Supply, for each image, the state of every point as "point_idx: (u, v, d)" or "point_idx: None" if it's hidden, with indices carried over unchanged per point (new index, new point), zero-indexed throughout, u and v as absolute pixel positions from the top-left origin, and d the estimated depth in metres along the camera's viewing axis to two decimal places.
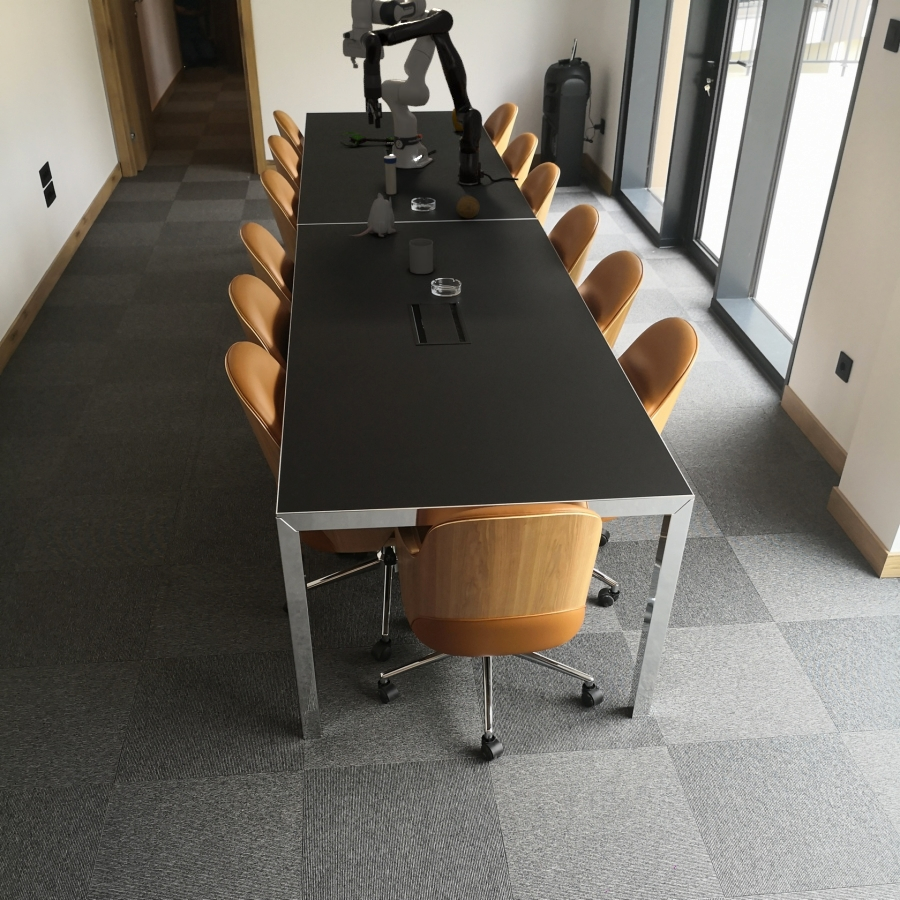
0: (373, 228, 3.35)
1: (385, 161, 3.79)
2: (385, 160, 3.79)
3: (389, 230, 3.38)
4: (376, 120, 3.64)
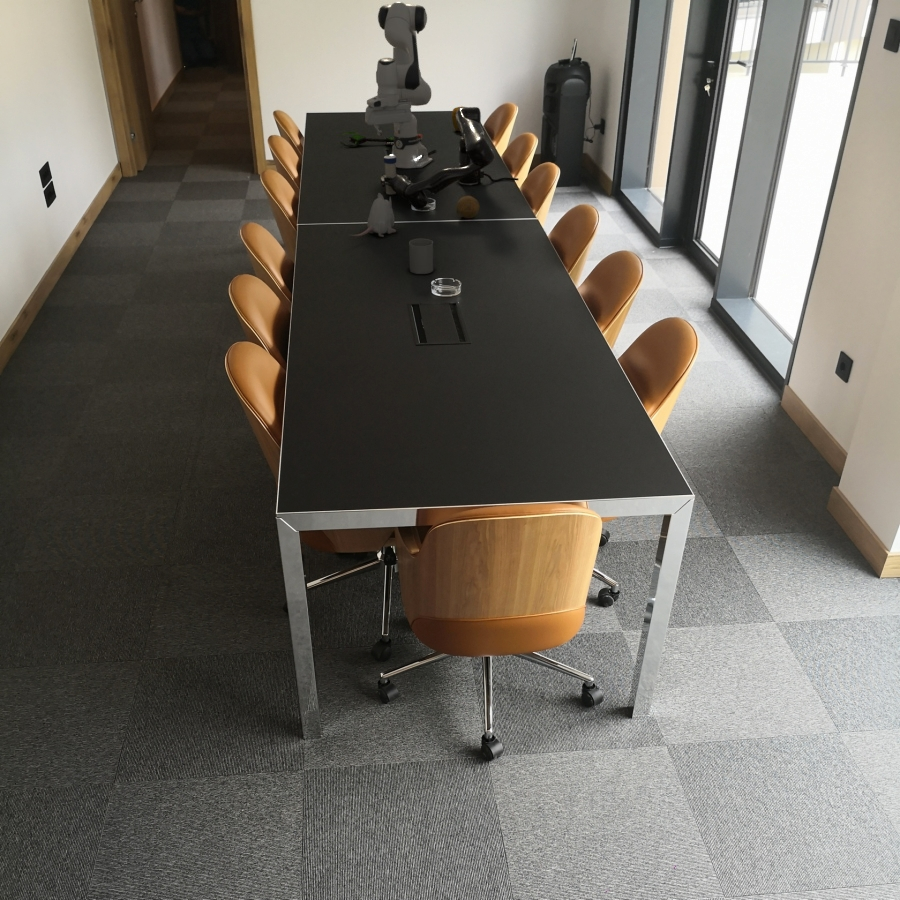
0: (373, 228, 3.35)
1: (385, 161, 3.79)
2: (385, 160, 3.79)
3: (389, 230, 3.38)
4: (384, 177, 3.83)
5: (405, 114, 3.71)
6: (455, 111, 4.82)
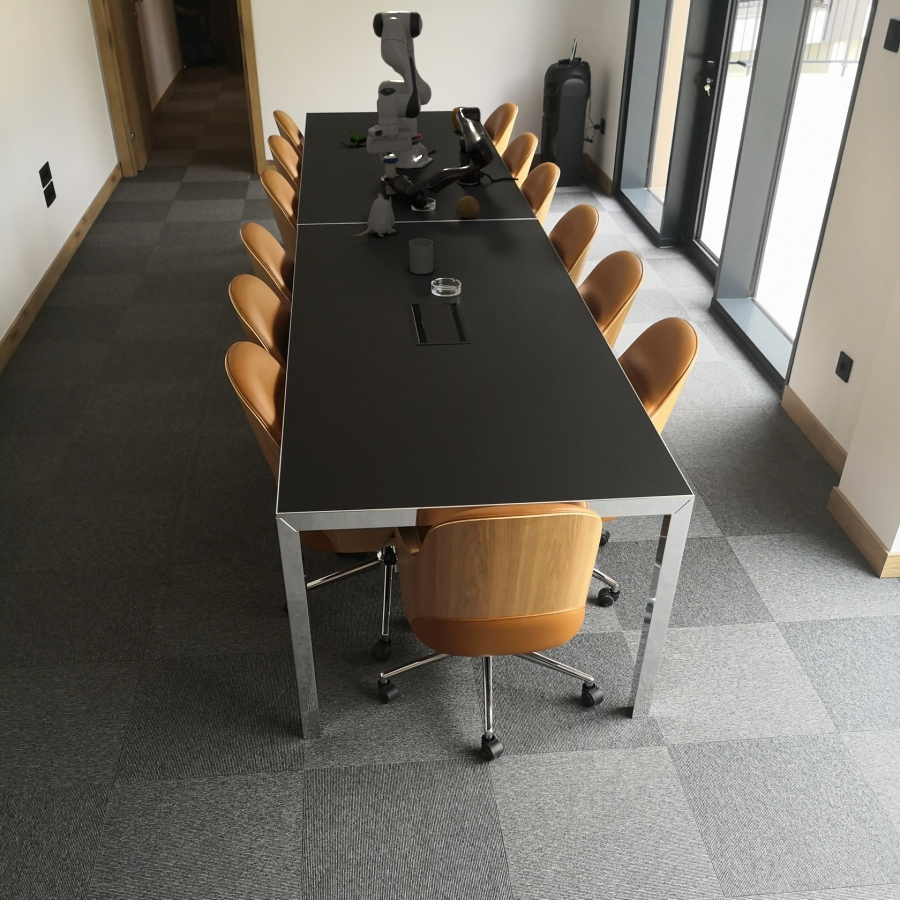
0: (373, 228, 3.35)
1: (385, 161, 3.79)
2: (385, 160, 3.79)
3: (389, 230, 3.38)
4: (384, 177, 3.83)
5: (405, 142, 3.77)
6: (455, 111, 4.82)
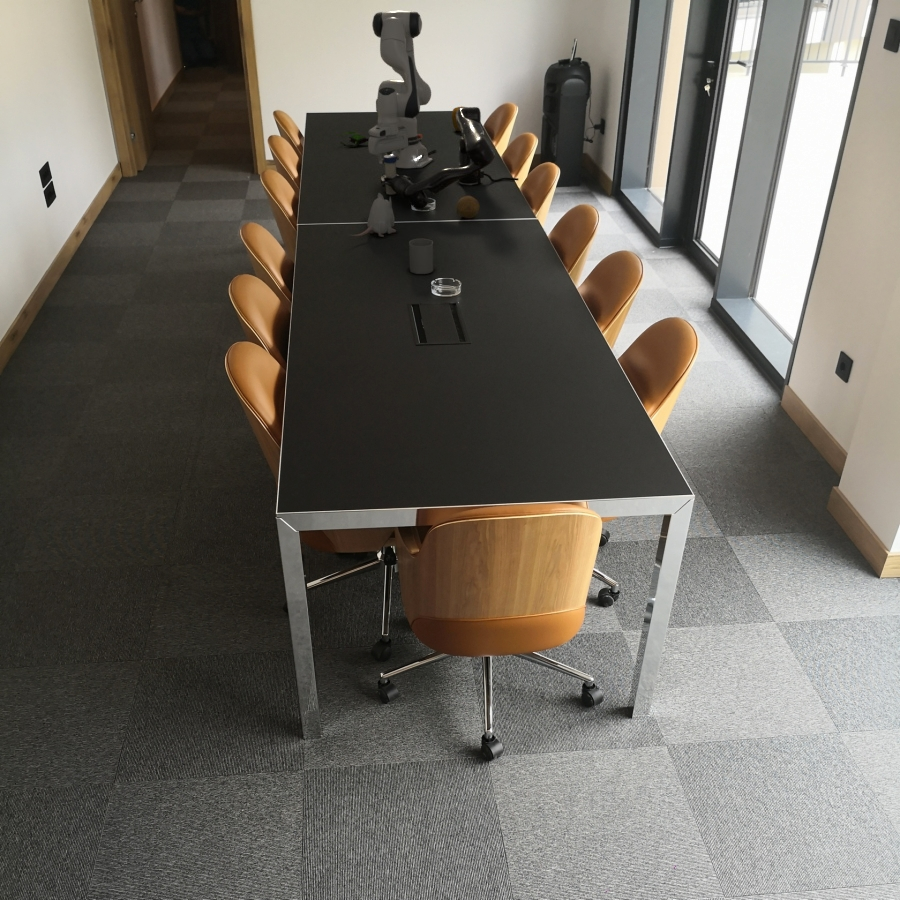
0: (373, 228, 3.35)
1: (392, 160, 3.78)
2: (391, 160, 3.78)
3: (389, 230, 3.38)
4: (384, 177, 3.83)
5: (403, 140, 3.79)
6: (455, 111, 4.82)
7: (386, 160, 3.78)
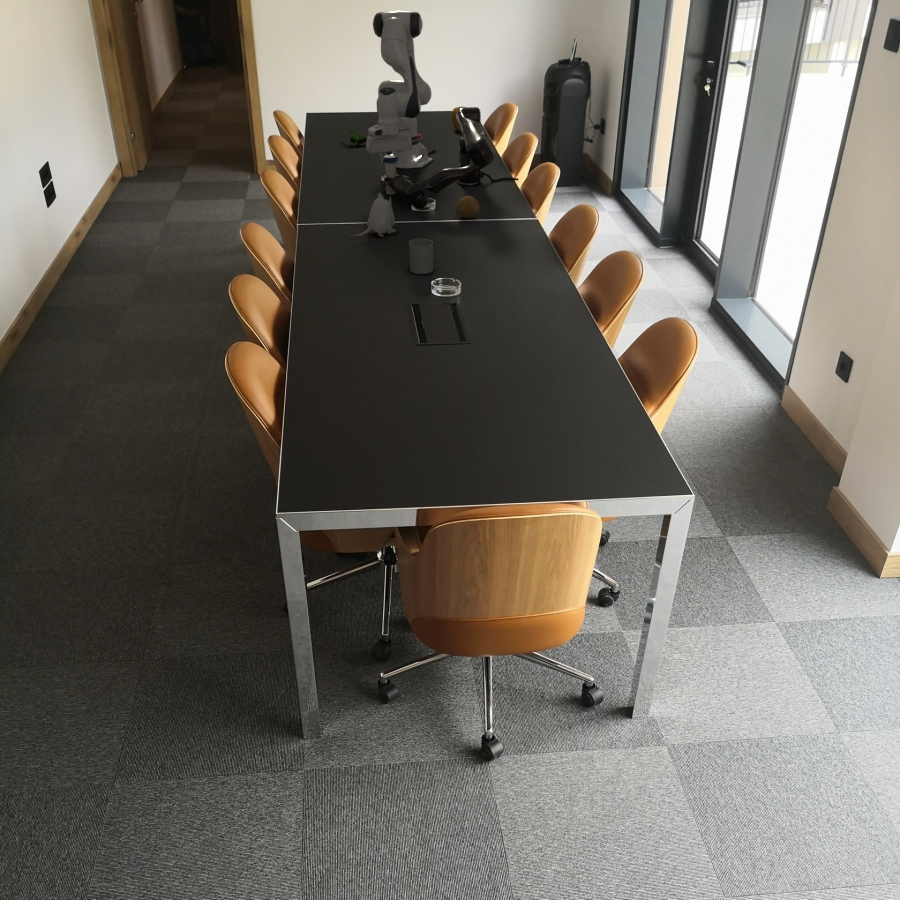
0: (373, 228, 3.35)
1: (392, 160, 3.78)
2: (391, 160, 3.78)
3: (389, 230, 3.38)
4: (384, 177, 3.83)
5: (405, 142, 3.77)
6: (455, 111, 4.82)
7: (386, 160, 3.78)
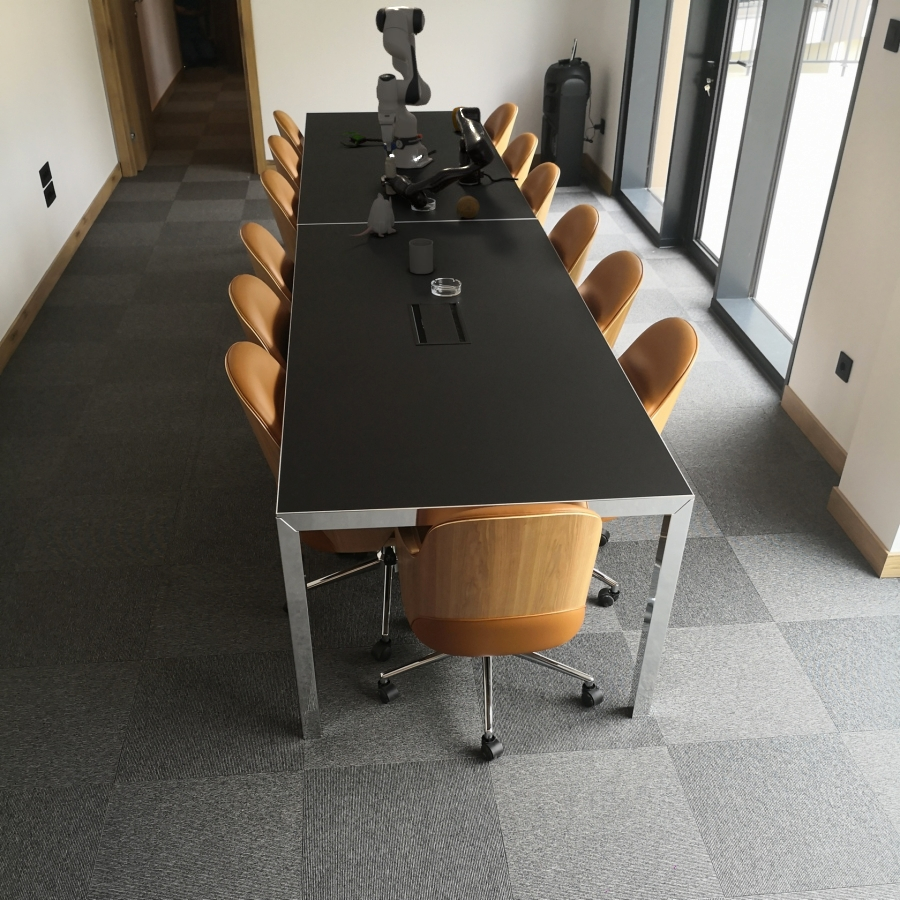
0: (373, 228, 3.35)
1: None
2: (395, 146, 3.77)
3: (389, 230, 3.38)
4: (384, 177, 3.83)
5: (394, 125, 3.79)
6: (455, 111, 4.82)
7: (392, 147, 3.76)
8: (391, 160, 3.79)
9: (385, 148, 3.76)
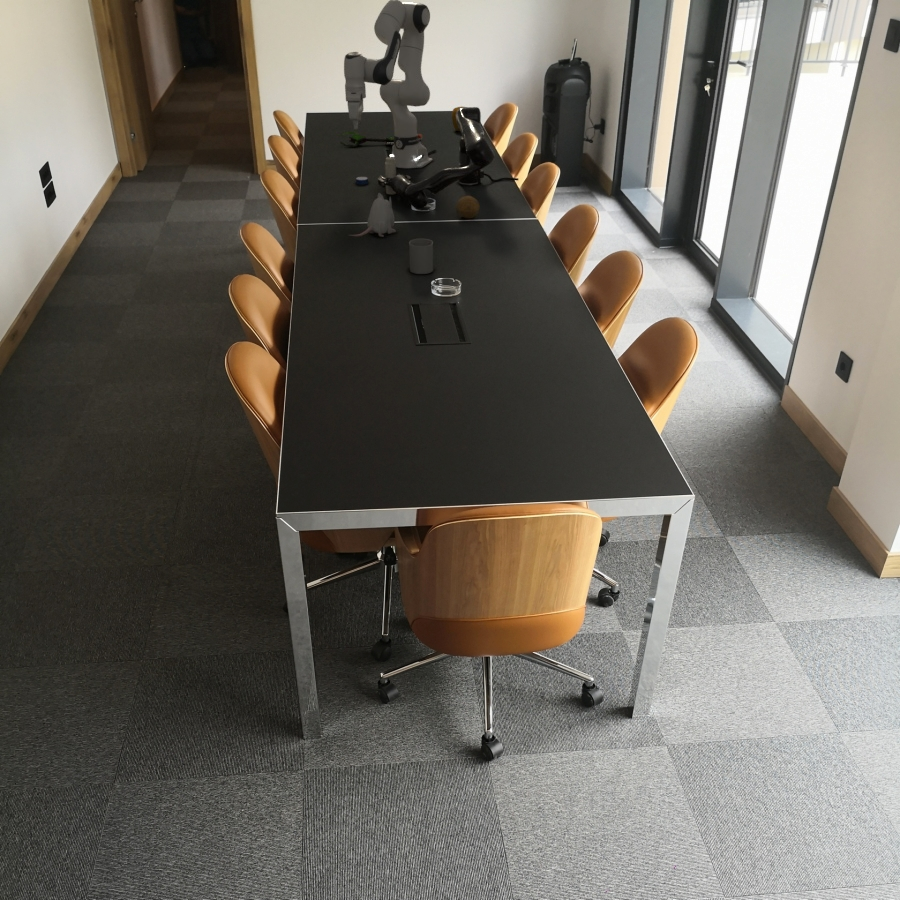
0: (373, 228, 3.35)
1: (367, 181, 4.01)
2: (367, 180, 4.00)
3: (389, 230, 3.38)
4: (381, 178, 3.81)
5: (362, 104, 3.87)
6: (455, 111, 4.82)
7: (364, 182, 3.99)
8: (391, 160, 3.79)
9: (358, 183, 3.99)
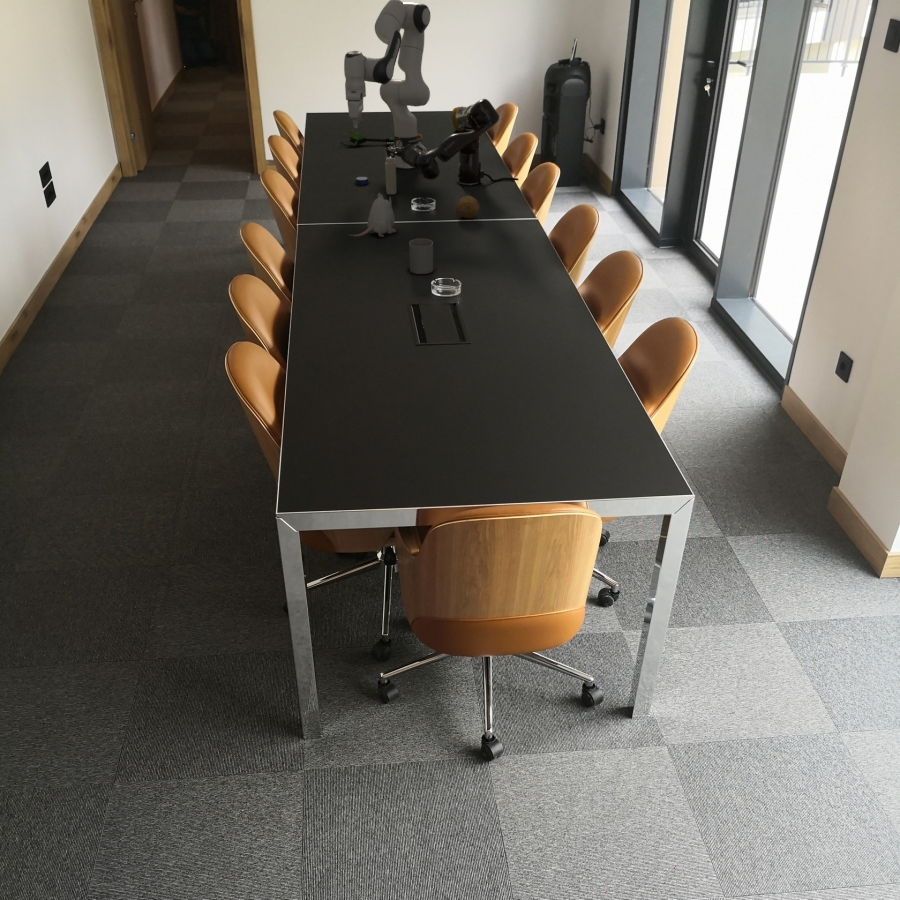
0: (373, 228, 3.35)
1: (367, 181, 4.01)
2: (367, 180, 4.00)
3: (389, 230, 3.38)
4: (390, 148, 3.63)
5: (362, 103, 3.87)
6: (455, 111, 4.82)
7: (364, 182, 3.99)
8: (391, 160, 3.79)
9: (358, 183, 3.99)
